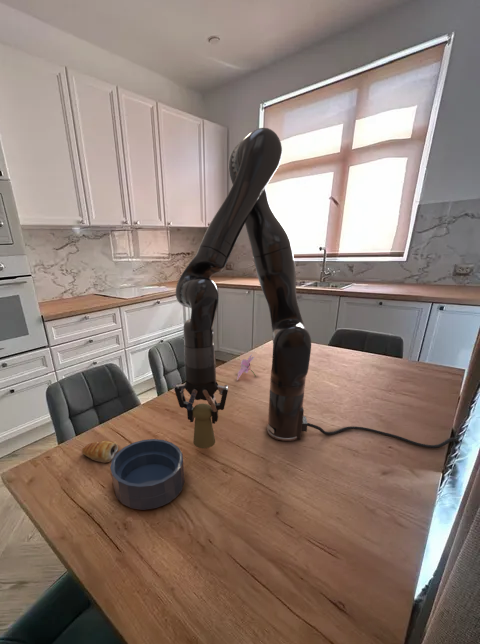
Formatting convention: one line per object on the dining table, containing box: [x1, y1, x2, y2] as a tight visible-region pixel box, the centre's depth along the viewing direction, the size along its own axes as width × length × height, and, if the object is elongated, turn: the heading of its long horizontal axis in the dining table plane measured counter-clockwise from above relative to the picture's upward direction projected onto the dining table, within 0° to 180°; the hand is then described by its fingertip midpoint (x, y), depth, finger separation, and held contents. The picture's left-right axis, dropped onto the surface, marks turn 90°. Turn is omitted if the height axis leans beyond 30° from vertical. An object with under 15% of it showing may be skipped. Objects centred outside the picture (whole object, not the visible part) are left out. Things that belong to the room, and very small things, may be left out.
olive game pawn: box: [192, 402, 216, 449], centre depth 82 cm, size 6×6×11 cm
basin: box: [109, 438, 186, 511], centre depth 74 cm, size 17×17×7 cm
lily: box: [236, 353, 257, 381], centre depth 128 cm, size 12×12×10 cm
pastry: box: [81, 440, 119, 463], centre depth 86 cm, size 9×7×4 cm
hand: (203, 421), depth 82 cm, fingers closed on olive game pawn, 5 cm apart
